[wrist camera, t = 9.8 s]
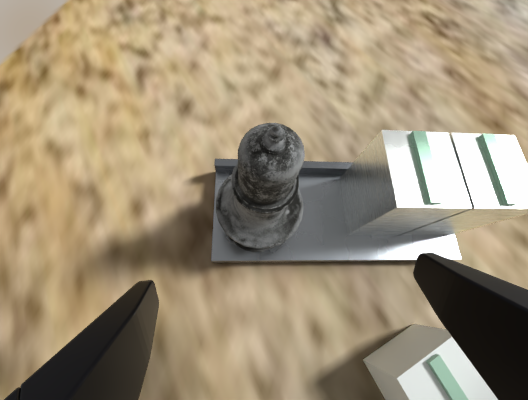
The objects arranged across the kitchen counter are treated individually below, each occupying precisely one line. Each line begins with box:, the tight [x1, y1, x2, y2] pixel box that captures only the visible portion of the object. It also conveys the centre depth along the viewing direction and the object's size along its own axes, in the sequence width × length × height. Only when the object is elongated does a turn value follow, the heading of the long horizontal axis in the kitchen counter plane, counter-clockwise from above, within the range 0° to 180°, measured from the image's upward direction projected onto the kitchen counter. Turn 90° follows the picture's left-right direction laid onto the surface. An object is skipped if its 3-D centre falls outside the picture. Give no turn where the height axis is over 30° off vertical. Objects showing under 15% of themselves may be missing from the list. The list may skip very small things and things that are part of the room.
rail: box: [211, 130, 528, 263], centre depth 18 cm, size 8×20×8 cm, turn 91°
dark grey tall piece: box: [216, 123, 304, 252], centre depth 15 cm, size 6×6×12 cm
